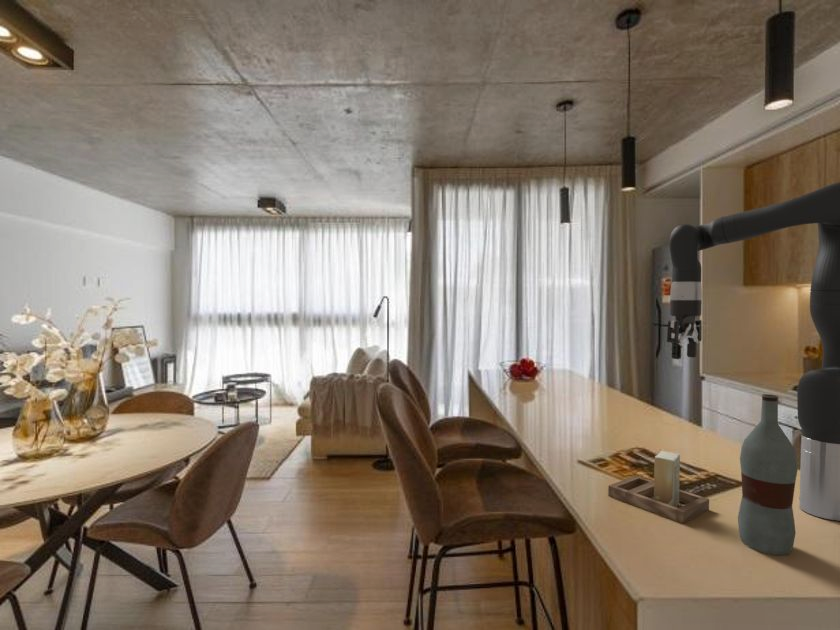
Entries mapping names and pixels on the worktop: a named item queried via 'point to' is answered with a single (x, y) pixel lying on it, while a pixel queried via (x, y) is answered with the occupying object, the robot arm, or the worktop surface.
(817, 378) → the robot arm
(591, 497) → the worktop surface
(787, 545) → the bottle
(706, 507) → the slot holder
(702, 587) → the worktop surface
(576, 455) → the worktop surface
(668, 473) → the skincare box
